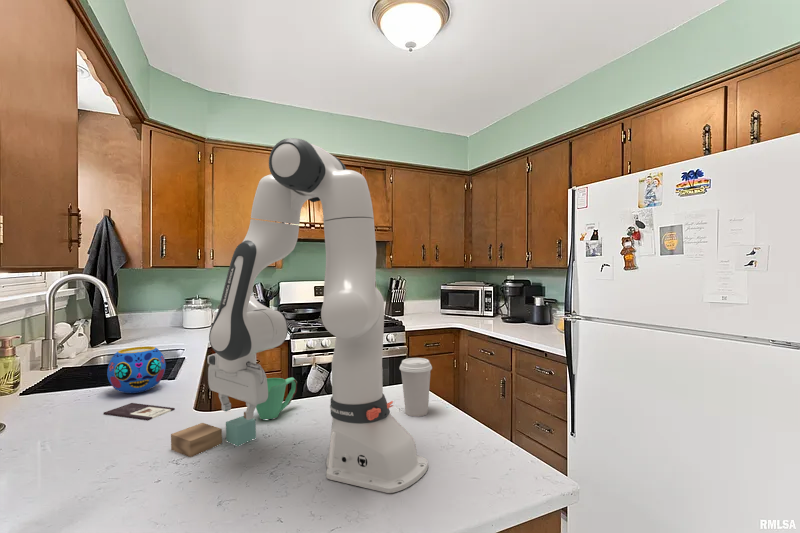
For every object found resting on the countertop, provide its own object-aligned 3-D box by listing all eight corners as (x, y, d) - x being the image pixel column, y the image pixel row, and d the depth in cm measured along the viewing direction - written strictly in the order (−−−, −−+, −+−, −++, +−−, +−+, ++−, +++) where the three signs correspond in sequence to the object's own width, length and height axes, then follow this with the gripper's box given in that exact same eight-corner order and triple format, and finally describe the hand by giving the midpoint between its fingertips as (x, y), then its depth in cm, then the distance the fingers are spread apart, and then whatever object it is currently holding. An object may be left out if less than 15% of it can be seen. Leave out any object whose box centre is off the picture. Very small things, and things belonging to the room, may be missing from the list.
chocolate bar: (131, 402, 130) (174, 408, 124) (131, 405, 130) (174, 411, 124) (103, 412, 121) (147, 418, 115) (103, 415, 121) (148, 422, 115)
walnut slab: (222, 445, 99) (221, 428, 99) (190, 458, 92) (190, 441, 92) (202, 438, 103) (202, 422, 103) (171, 450, 96) (170, 434, 96)
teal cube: (256, 439, 101) (255, 419, 101) (237, 446, 97) (237, 426, 97) (244, 434, 104) (243, 415, 104) (226, 442, 100) (225, 421, 100)
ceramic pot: (108, 403, 131) (106, 357, 131) (107, 390, 146) (106, 349, 146) (169, 392, 142) (168, 349, 142) (163, 381, 156) (162, 342, 156)
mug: (265, 426, 109) (264, 389, 109) (244, 419, 115) (243, 384, 115) (307, 410, 121) (306, 376, 121) (286, 404, 126) (285, 372, 126)
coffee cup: (396, 417, 113) (395, 364, 113) (404, 405, 122) (403, 356, 122) (430, 419, 111) (429, 365, 111) (435, 407, 120) (434, 357, 120)
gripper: (274, 362, 97) (274, 420, 97) (226, 351, 109) (225, 402, 109) (252, 368, 92) (251, 428, 92) (203, 356, 104) (203, 409, 104)
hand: (237, 414), depth 101 cm, fingers open, 8 cm apart
